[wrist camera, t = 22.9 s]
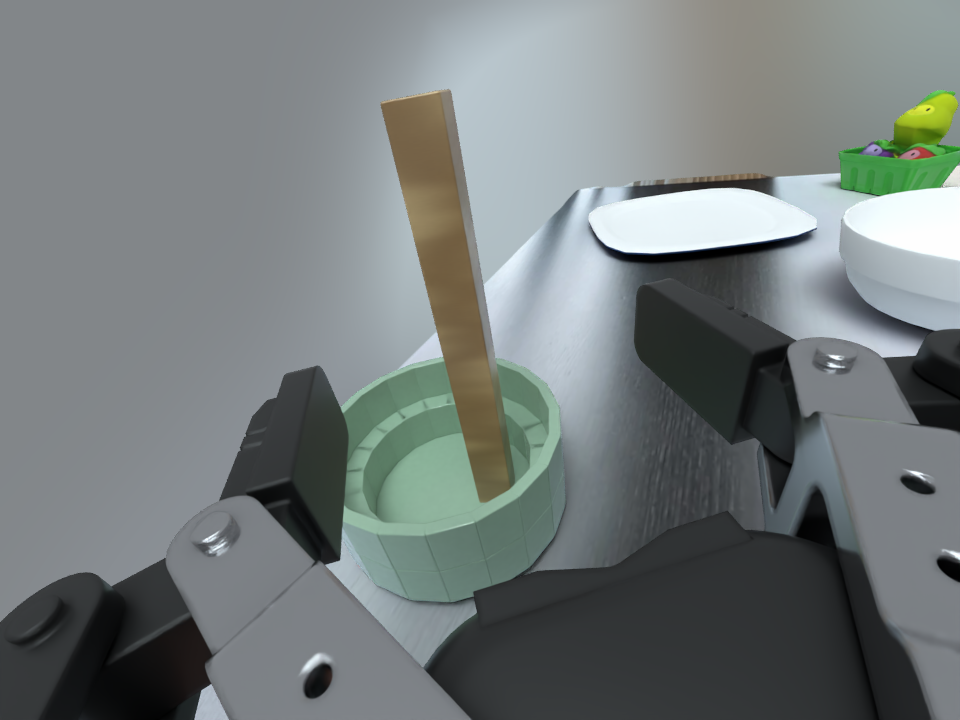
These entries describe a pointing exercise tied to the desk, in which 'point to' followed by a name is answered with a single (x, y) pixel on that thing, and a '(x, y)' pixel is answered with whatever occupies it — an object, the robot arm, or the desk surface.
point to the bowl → (907, 255)
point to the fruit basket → (906, 152)
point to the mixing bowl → (447, 484)
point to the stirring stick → (452, 275)
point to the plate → (697, 221)
